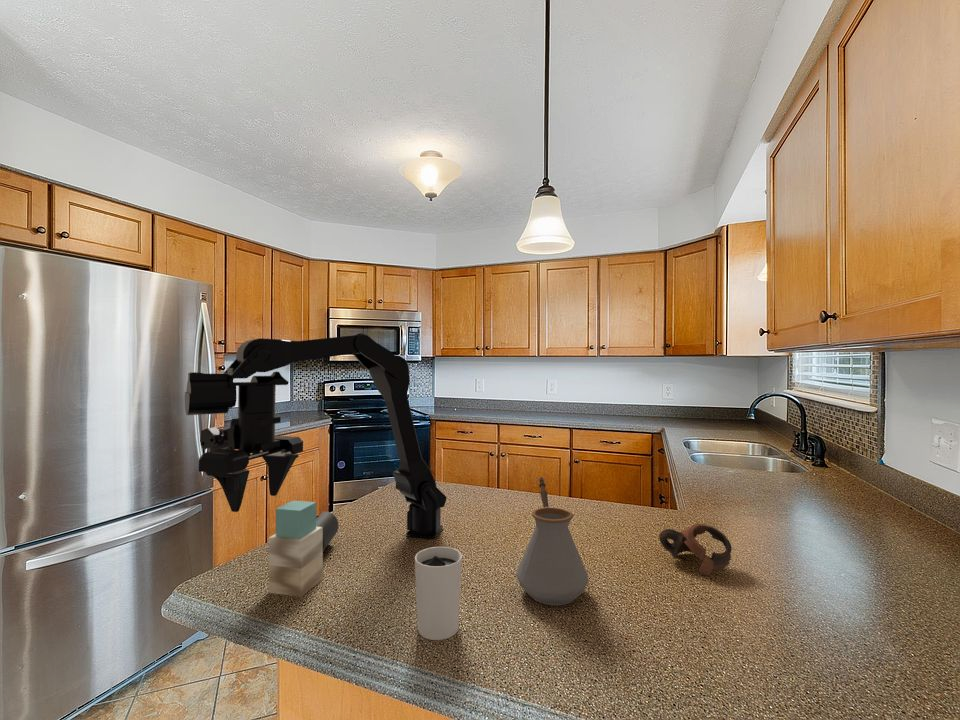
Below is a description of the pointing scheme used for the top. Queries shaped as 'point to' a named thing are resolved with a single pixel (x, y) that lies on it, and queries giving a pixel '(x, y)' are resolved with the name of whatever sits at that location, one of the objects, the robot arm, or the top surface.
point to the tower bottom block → (295, 578)
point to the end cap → (327, 526)
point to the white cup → (438, 591)
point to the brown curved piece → (697, 546)
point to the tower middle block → (295, 549)
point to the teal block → (295, 519)
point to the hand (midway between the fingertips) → (255, 503)
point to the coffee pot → (552, 558)
